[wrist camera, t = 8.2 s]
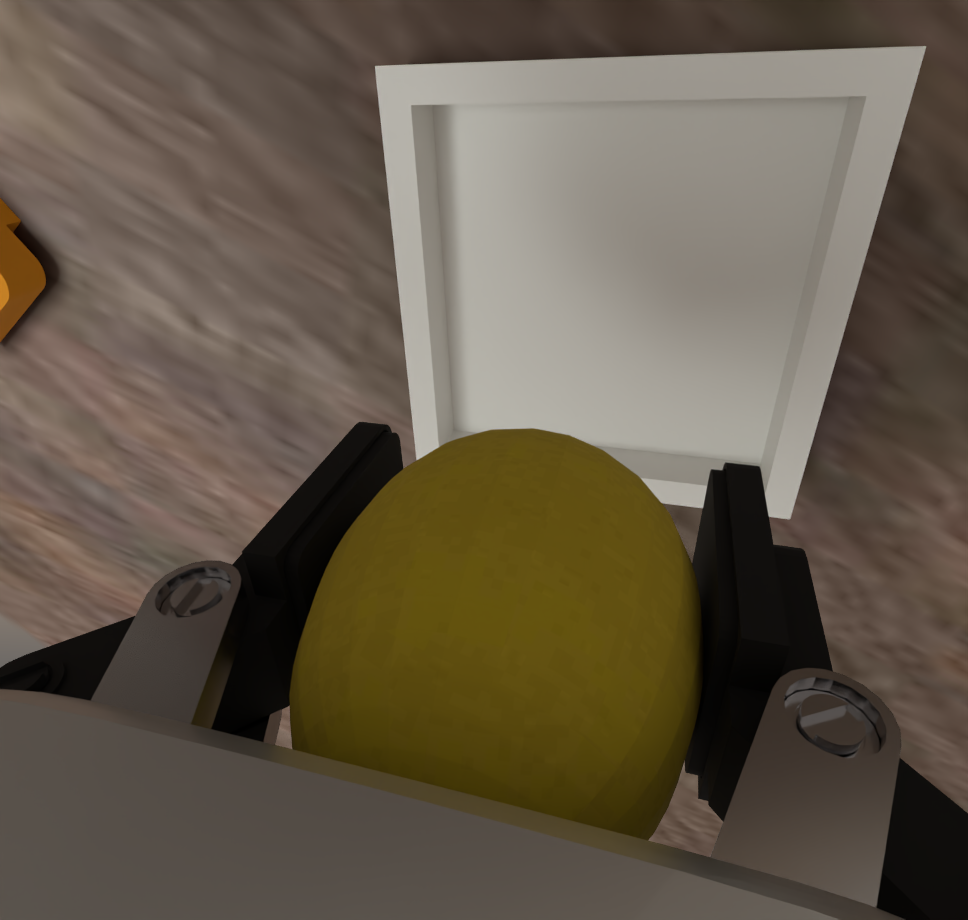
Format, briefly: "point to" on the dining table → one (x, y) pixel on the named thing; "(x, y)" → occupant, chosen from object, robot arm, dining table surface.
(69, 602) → the dining table surface
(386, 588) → the lemon
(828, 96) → the tray
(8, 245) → the bracket
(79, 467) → the dining table surface
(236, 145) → the dining table surface
